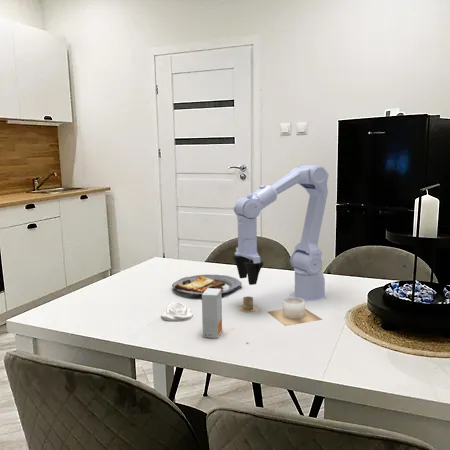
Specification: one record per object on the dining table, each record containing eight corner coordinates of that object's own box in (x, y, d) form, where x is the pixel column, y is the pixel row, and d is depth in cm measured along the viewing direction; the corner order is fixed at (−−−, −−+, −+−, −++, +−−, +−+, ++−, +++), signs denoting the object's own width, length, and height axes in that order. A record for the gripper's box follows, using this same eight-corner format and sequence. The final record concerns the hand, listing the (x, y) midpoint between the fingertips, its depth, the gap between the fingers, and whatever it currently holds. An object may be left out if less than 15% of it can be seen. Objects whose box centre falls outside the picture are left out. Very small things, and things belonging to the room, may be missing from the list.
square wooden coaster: (301, 308, 142) (301, 306, 142) (322, 321, 130) (322, 319, 130) (266, 313, 138) (266, 311, 138) (285, 327, 126) (285, 325, 126)
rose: (174, 295, 143) (199, 300, 138) (175, 309, 144) (200, 314, 139) (153, 305, 135) (179, 310, 130) (154, 319, 136) (179, 325, 131)
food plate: (214, 303, 148) (214, 292, 147) (159, 293, 160) (159, 283, 159) (251, 285, 169) (251, 276, 168) (200, 278, 181) (199, 269, 180)
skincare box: (218, 338, 120) (217, 295, 118) (202, 337, 121) (201, 294, 119) (222, 329, 126) (221, 288, 124) (207, 328, 127) (206, 287, 125)
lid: (253, 306, 145) (253, 293, 145) (262, 312, 139) (262, 299, 138) (234, 308, 143) (233, 296, 142) (242, 316, 137) (242, 302, 136)
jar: (298, 310, 138) (298, 296, 137) (308, 317, 132) (309, 302, 131) (279, 313, 136) (279, 299, 135) (289, 320, 130) (289, 305, 129)
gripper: (226, 234, 143) (227, 276, 145) (244, 243, 129) (244, 289, 131) (247, 233, 145) (247, 274, 147) (266, 241, 131) (266, 286, 134)
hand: (247, 281), depth 139 cm, fingers open, 7 cm apart
